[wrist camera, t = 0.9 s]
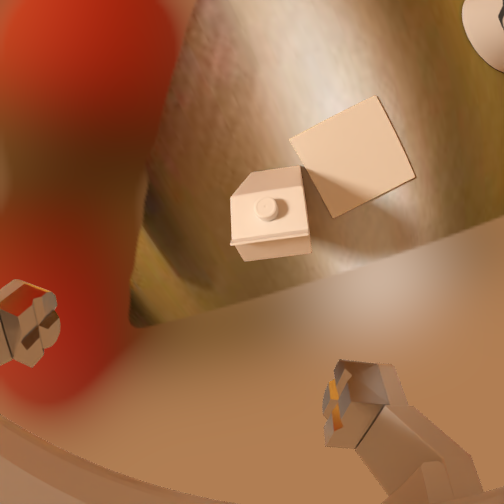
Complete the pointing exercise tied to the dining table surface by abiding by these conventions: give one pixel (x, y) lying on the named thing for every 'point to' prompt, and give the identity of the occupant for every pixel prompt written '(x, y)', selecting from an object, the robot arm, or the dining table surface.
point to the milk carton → (270, 215)
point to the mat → (353, 156)
